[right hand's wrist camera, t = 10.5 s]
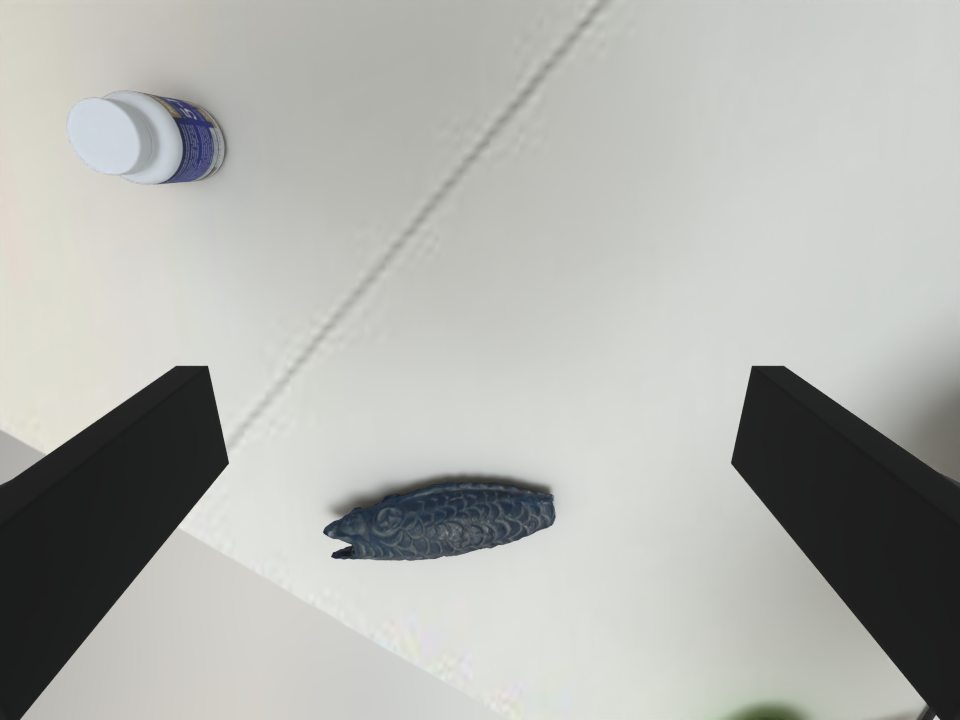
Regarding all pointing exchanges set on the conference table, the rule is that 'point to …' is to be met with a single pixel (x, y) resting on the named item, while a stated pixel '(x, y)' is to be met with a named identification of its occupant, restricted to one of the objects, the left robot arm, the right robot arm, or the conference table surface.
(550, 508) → the fish model
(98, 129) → the pill bottle
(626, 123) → the conference table surface
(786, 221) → the conference table surface
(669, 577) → the conference table surface
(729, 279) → the conference table surface
